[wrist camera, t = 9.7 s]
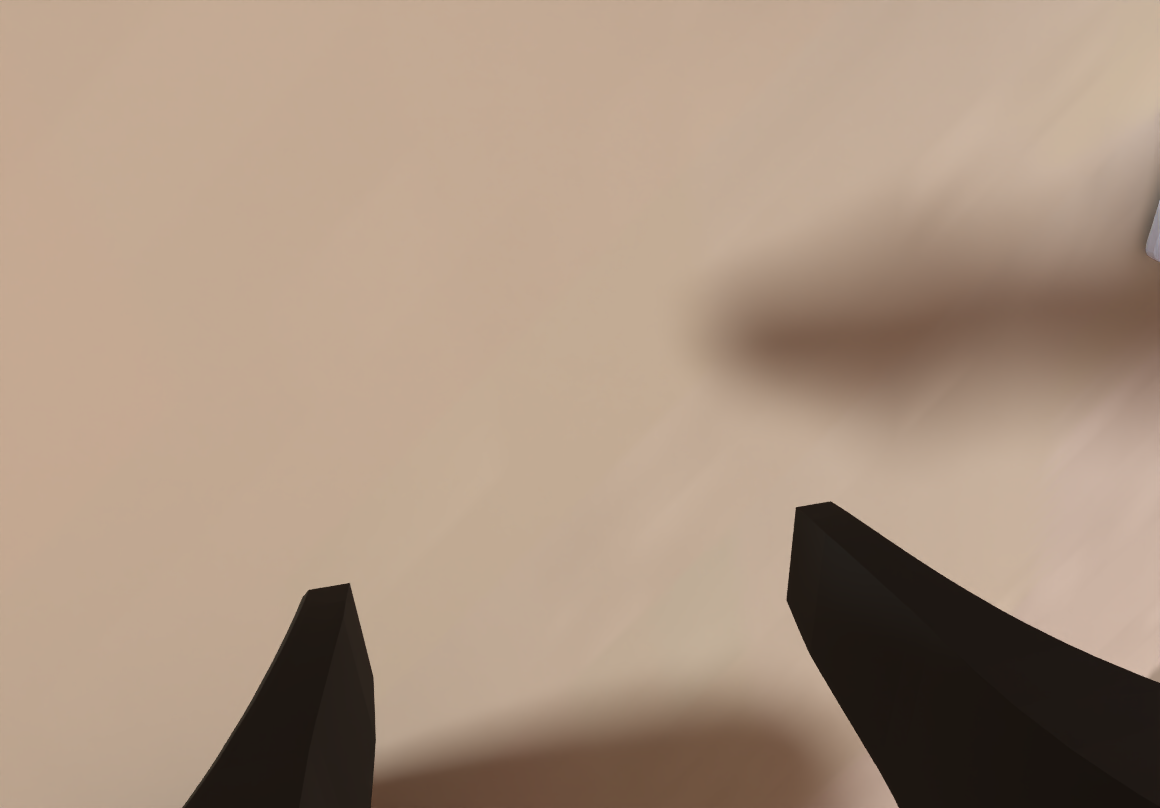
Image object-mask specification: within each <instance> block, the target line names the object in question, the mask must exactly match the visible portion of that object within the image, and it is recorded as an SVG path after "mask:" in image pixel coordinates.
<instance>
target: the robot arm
mask: <svg viewBox="0 0 1160 808" xmlns="http://www.w3.org/2000/svg"><path fill="white" fill-rule="evenodd" d="M1146 253H1147V255H1148V256H1149V257H1150V258H1152V259H1154V260H1156V261H1159V262H1160V201H1159V204H1158V207H1157V211H1156V214H1155V217H1154V220H1153V224H1152V227H1151V230H1150V233H1149V237H1148V240H1147V243H1146ZM787 602H788V605H789V607H790V610H791V612H792V614H793V617H794V619H795V622H796V624H797V626H798V629H799V631H800V633H801V636H802V638H803V640H804V642H805V644H806V647H807V649H808V651H809V653H810V655H811V657H812V659H813V661H814V662H815V664H816V666H817V667H818V669H819V671H820V673H821V674H822V676H823V678H824V679H825V681H826V683H827V684H828V686H829V688H830V690H831V691H832V693H833V695H834V696H835V698H836V700H837V701H838V703H839V705H840V706H841V708H842V710H843V711H844V713H845V715H846V716H847V718H848V720H849V721H850V723H851V725H852V726H853V728H854V730H855V731H856V733H857V734H858V736H859V738H860V739H861V741H862V743H863V744H864V746H865V748H866V749H867V751H868V753H869V754H870V756H871V758H872V759H873V761H874V763H875V764H876V766H877V768H878V769H879V771H880V773H881V775H882V777H883V778H884V780H885V782H886V784H887V786H888V787H889V789H890V791H891V793H892V795H893V797H894V799H895V801H896V803H897V805H898V807H899V808H1160V683H1159V682H1156V681H1153V680H1151V679H1148V678H1145V677H1143V676H1140V675H1138V674H1136V673H1133V672H1131V671H1128V670H1126V669H1124V668H1121V667H1119V666H1116V665H1114V664H1112V663H1109V662H1107V661H1104V660H1102V659H1100V658H1097V657H1095V656H1093V655H1090V654H1088V653H1086V652H1084V651H1082V650H1079V649H1077V648H1075V647H1073V646H1071V645H1068V644H1066V643H1064V642H1062V641H1060V640H1058V639H1056V638H1054V637H1052V636H1050V635H1048V634H1046V633H1044V632H1042V631H1040V630H1038V629H1036V628H1034V627H1032V626H1030V625H1028V624H1026V623H1024V622H1022V621H1020V620H1018V619H1017V618H1015V617H1013V616H1011V615H1009V614H1007V613H1005V612H1004V611H1002V610H1000V609H998V608H997V607H995V606H993V605H991V604H990V603H988V602H986V601H984V600H983V599H981V598H979V597H978V596H976V595H974V594H972V593H971V592H969V591H967V590H965V589H964V588H962V587H961V586H959V585H957V584H956V583H954V582H952V581H951V580H949V579H948V578H946V577H944V576H943V575H941V574H940V573H938V572H936V571H935V570H933V569H932V568H930V567H929V566H927V565H926V564H924V563H922V562H921V561H919V560H918V559H916V558H915V557H913V556H912V555H910V554H909V553H907V552H906V551H904V550H903V549H901V548H900V547H898V546H897V545H895V544H894V543H892V542H891V541H889V540H888V539H886V538H885V537H883V536H882V535H880V534H879V533H878V532H876V531H875V530H873V529H872V528H870V527H869V526H867V525H866V524H864V523H863V522H861V521H860V520H858V519H857V518H855V517H854V516H853V515H851V514H850V513H848V512H847V511H845V510H843V509H842V508H840V507H839V506H837V505H836V504H834V503H833V502H831V501H830V502H825V503H819V504H813V505H807V506H801V507H796V512H795V522H794V532H793V541H792V551H791V561H790V571H789V581H788V590H787ZM375 743H376V734H375V704H374V681H373V674H372V670H371V666H370V662H369V658H368V654H367V650H366V646H365V642H364V638H363V634H362V630H361V626H360V622H359V618H358V614H357V610H356V606H355V602H354V598H353V594H352V590H351V586H350V583H347V584H341V585H336V586H330V587H324V588H318V589H312V590H308V592H307V593H306V594H305V595H304V596H303V598H302V600H301V602H300V605H299V607H298V609H297V612H296V614H295V616H294V618H293V621H292V623H291V625H290V627H289V629H288V631H287V634H286V636H285V638H284V640H283V642H282V644H281V646H280V648H279V650H278V652H277V654H276V656H275V658H274V660H273V662H272V664H271V666H270V667H269V669H268V671H267V673H266V675H265V677H264V679H263V680H262V682H261V684H260V686H259V688H258V690H257V691H256V693H255V695H254V697H253V699H252V701H251V702H250V704H249V706H248V708H247V709H246V711H245V713H244V715H243V716H242V718H241V719H240V721H239V723H238V724H237V726H236V727H235V729H234V731H233V732H232V734H231V736H230V737H229V739H228V740H227V742H226V744H225V745H224V747H223V749H222V750H221V752H220V753H219V755H218V757H217V758H216V760H215V761H214V763H213V764H212V766H211V767H210V769H209V770H208V772H207V773H206V775H205V776H204V778H203V779H202V781H201V782H200V784H199V785H198V786H197V788H196V789H195V791H194V792H193V794H192V795H191V796H190V798H189V799H188V801H187V802H186V803H185V805H184V806H183V807H182V808H371V797H372V784H373V771H374V757H375Z"/></svg>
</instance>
